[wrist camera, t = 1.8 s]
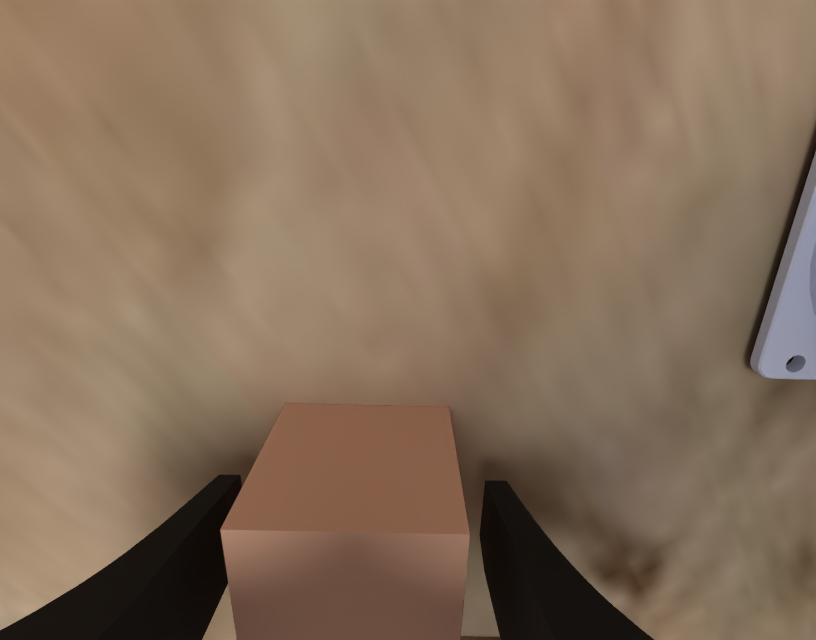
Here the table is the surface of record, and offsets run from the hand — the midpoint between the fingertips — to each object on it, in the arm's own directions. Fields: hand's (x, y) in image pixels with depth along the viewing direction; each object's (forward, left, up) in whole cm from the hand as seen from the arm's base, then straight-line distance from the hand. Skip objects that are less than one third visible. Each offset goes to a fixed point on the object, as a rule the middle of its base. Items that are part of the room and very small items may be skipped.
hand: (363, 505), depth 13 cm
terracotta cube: (0, 0, -2) cm, 2 cm away
